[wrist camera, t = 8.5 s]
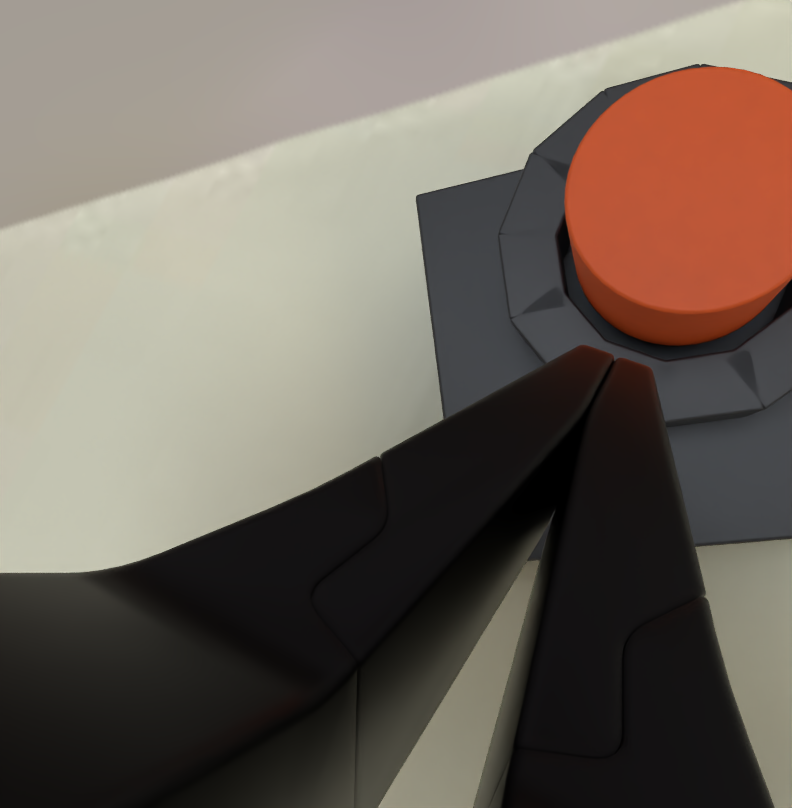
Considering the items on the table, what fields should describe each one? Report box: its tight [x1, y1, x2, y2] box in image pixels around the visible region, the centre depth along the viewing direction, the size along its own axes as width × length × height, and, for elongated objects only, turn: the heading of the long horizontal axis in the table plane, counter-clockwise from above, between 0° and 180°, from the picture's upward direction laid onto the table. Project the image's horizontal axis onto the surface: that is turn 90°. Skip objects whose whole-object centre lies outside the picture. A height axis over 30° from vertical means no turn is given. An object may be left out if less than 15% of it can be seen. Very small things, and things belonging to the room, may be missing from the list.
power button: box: [564, 67, 792, 346], centre depth 12 cm, size 4×4×3 cm
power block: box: [416, 64, 792, 561], centre depth 16 cm, size 9×11×6 cm
